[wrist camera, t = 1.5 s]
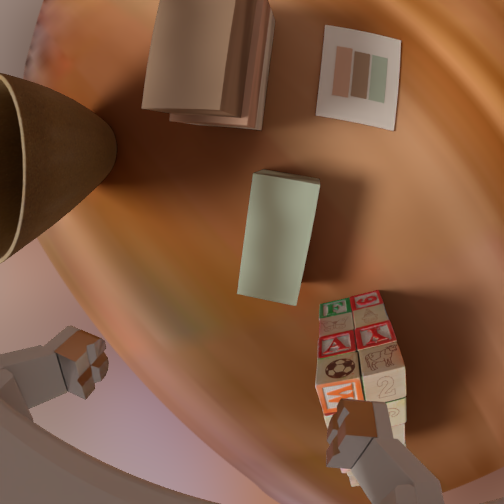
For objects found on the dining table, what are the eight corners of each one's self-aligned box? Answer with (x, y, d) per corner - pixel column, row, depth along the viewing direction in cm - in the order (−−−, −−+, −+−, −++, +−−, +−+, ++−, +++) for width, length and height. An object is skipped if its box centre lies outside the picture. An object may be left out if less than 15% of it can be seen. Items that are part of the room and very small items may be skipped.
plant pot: (60, 221, 34) (-41, 264, 19) (47, 106, 29) (-59, 111, 14) (157, 211, 30) (41, 268, 16) (144, 70, 26) (23, 36, 11)
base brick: (275, 20, 22) (264, -8, 17) (261, 130, 26) (247, 125, 20) (212, 19, 23) (189, -5, 18) (197, 125, 27) (169, 120, 21)
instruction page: (400, 41, 21) (401, 40, 20) (393, 131, 24) (393, 130, 23) (325, 25, 22) (325, 24, 21) (315, 115, 25) (315, 115, 24)
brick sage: (319, 178, 27) (320, 184, 22) (299, 281, 30) (295, 305, 25) (263, 169, 27) (253, 173, 23) (249, 271, 31) (237, 293, 26)
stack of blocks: (393, 423, 34) (403, 498, 22) (349, 432, 36) (349, 508, 24) (378, 287, 29) (407, 367, 17) (317, 302, 30) (314, 387, 19)
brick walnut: (257, -3, 17) (242, -35, 12) (241, 118, 20) (219, 110, 16) (194, -1, 18) (166, -28, 13) (175, 114, 21) (141, 108, 16)
